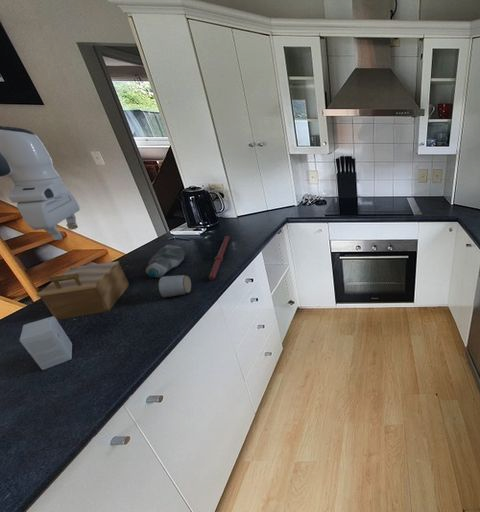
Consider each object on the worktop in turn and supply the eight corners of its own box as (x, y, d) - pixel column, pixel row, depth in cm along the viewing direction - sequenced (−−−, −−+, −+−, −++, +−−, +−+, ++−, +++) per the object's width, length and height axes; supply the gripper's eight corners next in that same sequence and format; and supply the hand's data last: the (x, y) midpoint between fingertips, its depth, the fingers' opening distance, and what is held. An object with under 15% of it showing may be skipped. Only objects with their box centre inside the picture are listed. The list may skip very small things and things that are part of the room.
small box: (44, 354, 76) (22, 324, 71) (73, 343, 79) (54, 315, 74) (41, 371, 71) (17, 340, 66) (72, 359, 74) (52, 329, 69)
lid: (94, 287, 88) (87, 274, 86) (37, 296, 83) (28, 282, 81) (119, 263, 103) (113, 251, 101) (71, 269, 98) (64, 256, 96)
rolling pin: (217, 280, 111) (215, 274, 110) (208, 281, 110) (206, 275, 109) (231, 239, 149) (230, 234, 148) (224, 240, 148) (223, 235, 147)
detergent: (160, 257, 129) (132, 283, 107) (156, 243, 126) (127, 267, 104) (192, 256, 132) (171, 281, 111) (189, 242, 130) (167, 266, 108)
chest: (109, 310, 93) (96, 286, 88) (56, 320, 88) (39, 295, 84) (129, 285, 107) (119, 263, 103) (84, 291, 103) (71, 269, 98)
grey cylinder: (189, 297, 101) (182, 279, 97) (162, 301, 98) (155, 283, 95) (196, 283, 109) (190, 266, 106) (172, 286, 107) (165, 269, 104)
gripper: (46, 182, 85) (68, 224, 91) (3, 198, 69) (33, 247, 75) (74, 181, 87) (93, 222, 94) (38, 195, 71) (65, 243, 77)
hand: (66, 233), depth 84 cm, fingers open, 8 cm apart
